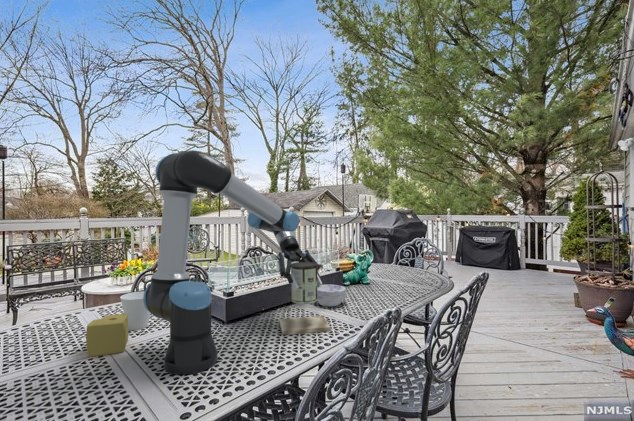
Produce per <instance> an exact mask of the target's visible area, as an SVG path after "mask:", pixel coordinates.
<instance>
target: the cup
mask: <svg viewBox="0 0 634 421" xmlns="http://www.w3.org/2000/svg"><path fill="white" fill-rule="evenodd" d="M144 292H145V290H144V291H134V292H129V293H125V294H123V295H121V296H120V297H119V298H120V301H121V306H122V310H123V314H128V331H129V330H130V331H138V330H143V329H146V328H148V325H149V321H150V318H151V317H150V316H151V313H150V312H149V311H148V310H147V309H146V307H145V305H144V301H143V296H144Z"/></svg>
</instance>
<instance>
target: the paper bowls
mask: <svg viewBox="0 0 634 421" xmlns="http://www.w3.org/2000/svg"><path fill="white" fill-rule="evenodd" d="M346 292H347V291H346V287H345V286H344V285H338V284H322V285H321V286H320V288H318V287H317V299H318V300H317V303H318V304H319V305H321V306H323V307H331V308H332V307H337V306H340V305H341V303H342V301H345V300H346V298H347V297H346Z"/></svg>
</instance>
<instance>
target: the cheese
mask: <svg viewBox="0 0 634 421" xmlns="http://www.w3.org/2000/svg"><path fill="white" fill-rule="evenodd" d="M85 333H86V335H85V340H86V342H85V343H86V352H87V357H88V358H91V357H92V358H93V357H98V356H106V355H112V354H113V355H114V354H117V353H118V354H119V353H124V351H125V350H126V346H127V343H128V342H129V329H128V314H124V313H119V314H110V315H105V316H104V317H102V318H99V319H98V318H97V319H93V320H92V321H91V322H89V323H88V324H87V327H86V332H85Z"/></svg>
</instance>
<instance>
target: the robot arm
mask: <svg viewBox="0 0 634 421" xmlns="http://www.w3.org/2000/svg"><path fill="white" fill-rule="evenodd" d="M155 178H156V180H157V181H158V184H159V193H160V194H161V195H162V196H163V205H162V215H161V223H160V224H161V226H160V236H159V248H158V260H157V270H156V271H155V273H153V274H152V275H150V276H151V277H150V283H149V285H147V286H146V288H145V290H144V291H145V292H144V296H143V301H144V305H145V307H146V309H147V310H148V311H149V312H150V315H153V316H154V317H156V318H158V319H159V318H160V319H162V320H164V321H166V322H169V325H170V326H169V334H170V335H169V336H170V337H169V342H168V346H167V348H166V352H165V355H164V358H163V368H164V370H165V371H166V372H167V373H169V374H173V375H174V374H175V375H192V374H196V373H200V372H203V371H206V370H208V369H210V368H211V367H213V366H215V364H216V363H217V362H218V360H219V359H218V358H219V357H218V349H217V346H216V343H215V341H214V337H213V335H212V301H213V298H212V291H211V288H210V286H209V285H208V284H207V283H204V282H202V281H194V280H190V279H191V278H190V275H189V274H188V272H186V269H187V257H188V256H187V254H188V245H189V244H188V243H189V236H190V235H189V234H190V224H191V213H192V212H191V211H192V201H193V199H195V198H196V197H197V196H198V188H199V189H204V190H207V191H209V192H211V193H213V194H214V195H216V194H217V195H218V194H220V195H222V196H223V197H225V198H227V199H228V200H230V201H231V202H232V203H234V204H236V205H238V206H240V207H241V208H243V209H245V210H246V211H248V212H249V213H248V215H247V220H246V221H247V224H248V225H249V227H251V228H254V229H258V230H262V231H265V232H269V233H273V235H274V237H275V239H276V242H277V243H278V246H279V248H280V251H279V252H278V254H277V255H276V258H277V260H278V265H279V266H278V267H279V275H280V277H284V279H286V280H287V282H288V284H289V285H290V286H291V285H292V286H291V288H292V287H293V290H294V292H296V291H297V290H298V288H299V287H298V285H297V282H296V280H295V278H294V276H293V274H292V273H291V264H292V263H297V262H314V263H317V264H318V262H317V261H316V260H315V259H314V257H313V256H312V255H311V254H310V252H309V250H308V249H305V250H301V247H300V244H299V242H298V240H297V238H296V236H295V234H294V231H296V230H297V229H298V227H299V226H300V217H299V214H298V213H296V212H294V211H290V210H289V211H287V210H285V209H284V208H282V207H281V206H279V205H278V204H276V203H275V202H274V201H272V200H270V198H268V197H266V196H264V194H262V193H260V192H259V191H258V190H256V189H255V188H253V187H252V186H250V185H249V184H248V183H246V182H244V180H242V179H240V178H239V177H238V176H236V175H234V174H233V171H232V169H231V168H230V167H228V166H227V165H226V164H224V162H223V163H222V161H220V160H218V159H216V158H215V157H213V156H211V155H209V154H207V153H205V152H203V151H200V150H194V149H193V150H185V151H182V152H175V153H170V154H168V155H166V156H164V157H163V158H161V159H160V160H159V162H158V163H157V164H156V168H155ZM285 259H286V260H287V261H286V266H285ZM320 268H321V266H320V265H319V264H318V265H317V287H318V288H320V286H321V285H323V282H322V280H321V275H320V273H319V270H320Z"/></svg>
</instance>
